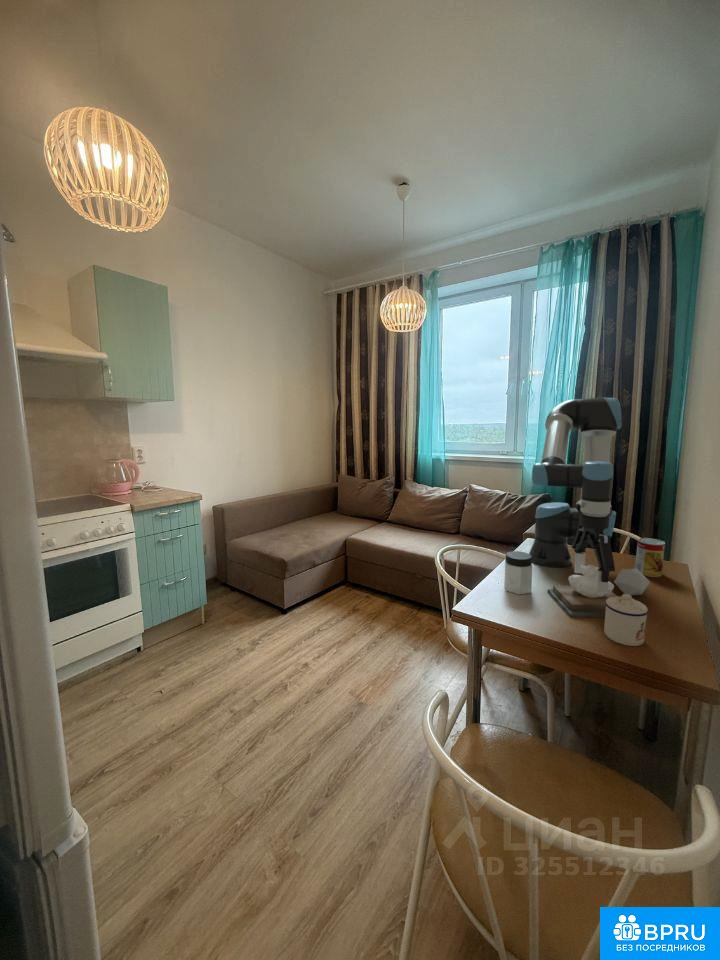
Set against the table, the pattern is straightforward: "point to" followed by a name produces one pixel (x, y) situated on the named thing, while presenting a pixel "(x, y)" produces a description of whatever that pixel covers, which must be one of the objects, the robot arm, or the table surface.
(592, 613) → the pedestal
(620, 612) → the teacup with lid
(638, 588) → the die
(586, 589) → the bust
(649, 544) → the canned food
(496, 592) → the table surface
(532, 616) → the table surface
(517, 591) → the jar
